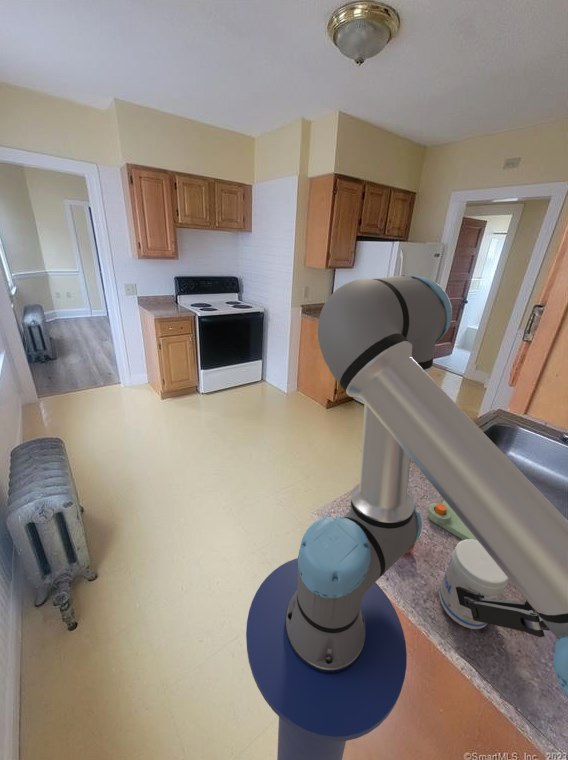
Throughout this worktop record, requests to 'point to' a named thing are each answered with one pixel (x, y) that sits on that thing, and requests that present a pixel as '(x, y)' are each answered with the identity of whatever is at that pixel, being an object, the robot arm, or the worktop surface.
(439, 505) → the tare button
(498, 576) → the supplement tub
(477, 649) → the worktop surface
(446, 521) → the scale
